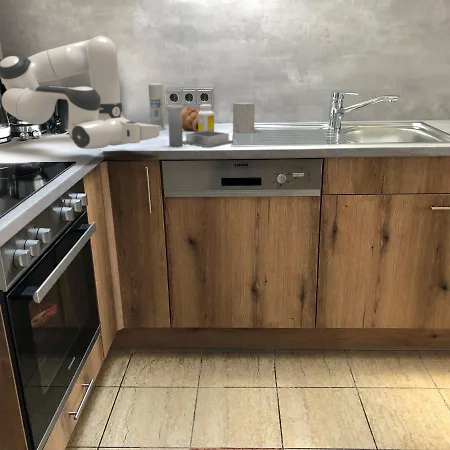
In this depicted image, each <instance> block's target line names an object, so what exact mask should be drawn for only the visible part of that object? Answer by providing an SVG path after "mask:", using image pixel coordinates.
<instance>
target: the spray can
mask: <svg viewBox="0 0 450 450" xmlns="http://www.w3.org/2000/svg"><path fill="white" fill-rule="evenodd" d="M147 86H148V102H149V103H148V104H149V119H150V124H151V125H160V126H162V130H161V131H164V130H165V129H166V127H165V126H166V125H165V99H164V98H165V96H164V83H148V84H147Z"/></svg>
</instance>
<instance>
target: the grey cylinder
mask: <svg viewBox="0 0 450 450" xmlns="http://www.w3.org/2000/svg"><path fill="white" fill-rule="evenodd" d="M255 104H256V103H255V102H252V101H251V102H249V101H238V102H237V101H236V102H235V101H234V102H232V112H233V113H232V132H233V133H235V134H236V133H237V134H251V133H252V134H253V133H254V132H255V114H256V113H255V111H256V110H255V109H256V107H255V106H256V105H255Z"/></svg>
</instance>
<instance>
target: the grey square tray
mask: <svg viewBox="0 0 450 450" xmlns="http://www.w3.org/2000/svg"><path fill="white" fill-rule="evenodd" d="M185 136H186V137H185V139H186V140H183V145H188V144H189V146H194V145H195V146H196V147H200V146H201V148H206V147H207V148H206V149H210V148H215V147H219V146H223V145H224V146H225V145H229V144H233V143H234V141H233V140H230V137H229V136H230V133H228V132H227V133H226V132H219V131H215V130H214V131H201V132H192V133H191V132H190V133H186V135H185ZM195 146H194V147H195Z"/></svg>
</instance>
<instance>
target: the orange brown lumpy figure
mask: <svg viewBox="0 0 450 450" xmlns="http://www.w3.org/2000/svg"><path fill="white" fill-rule="evenodd" d="M199 111H201V109H197V108H196V109H195V108H193V107H192V106H189V105H188V106H187V105H186V106H184V107H182V130H183V131H185V130H186V131H188V130H190V131H193V133H195V132H198V112H199Z"/></svg>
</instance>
